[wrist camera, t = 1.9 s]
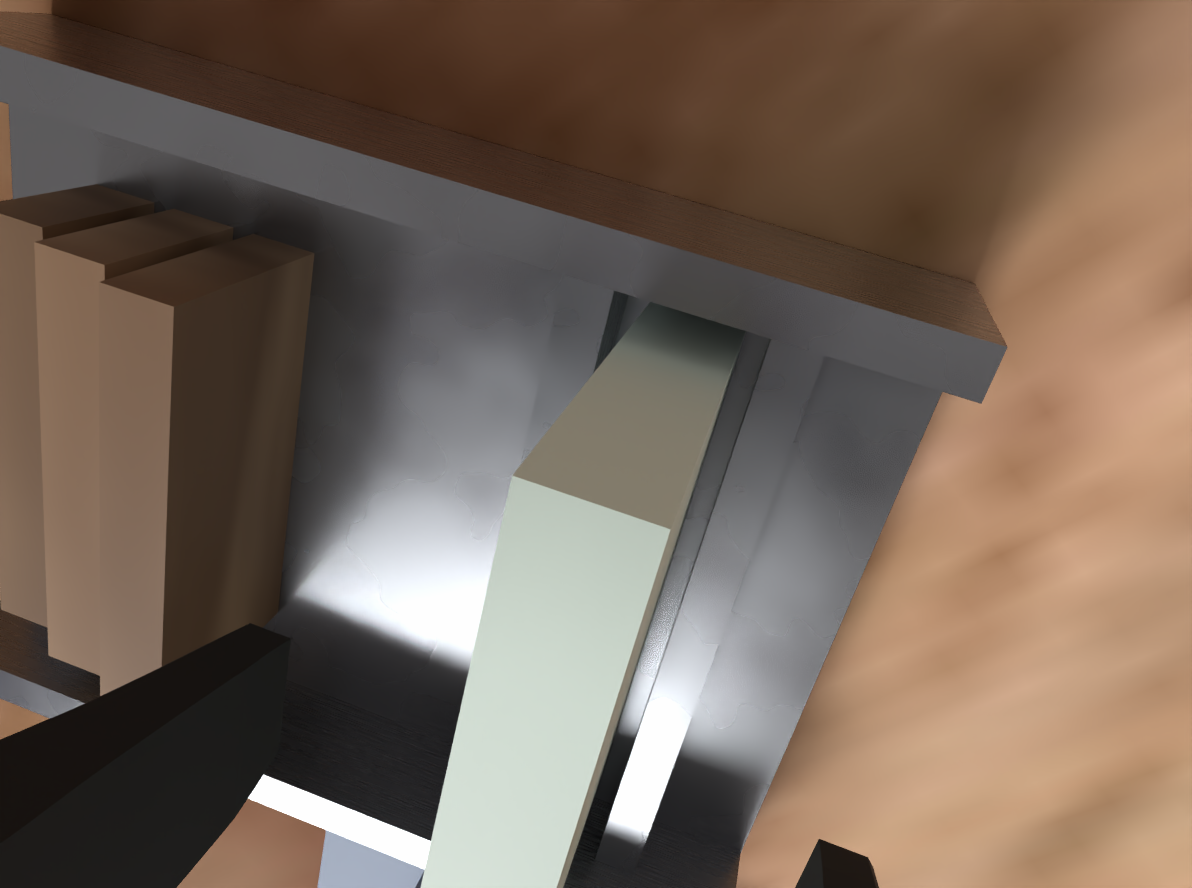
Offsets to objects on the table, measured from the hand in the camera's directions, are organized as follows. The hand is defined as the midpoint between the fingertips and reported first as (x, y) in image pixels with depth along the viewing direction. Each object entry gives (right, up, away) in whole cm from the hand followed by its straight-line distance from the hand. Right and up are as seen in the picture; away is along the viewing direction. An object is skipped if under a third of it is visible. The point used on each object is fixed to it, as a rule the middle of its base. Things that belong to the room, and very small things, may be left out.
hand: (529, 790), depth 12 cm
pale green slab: (+1, +2, +5) cm, 6 cm away
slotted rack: (-3, +4, +7) cm, 8 cm away
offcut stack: (-7, +5, +6) cm, 11 cm away
